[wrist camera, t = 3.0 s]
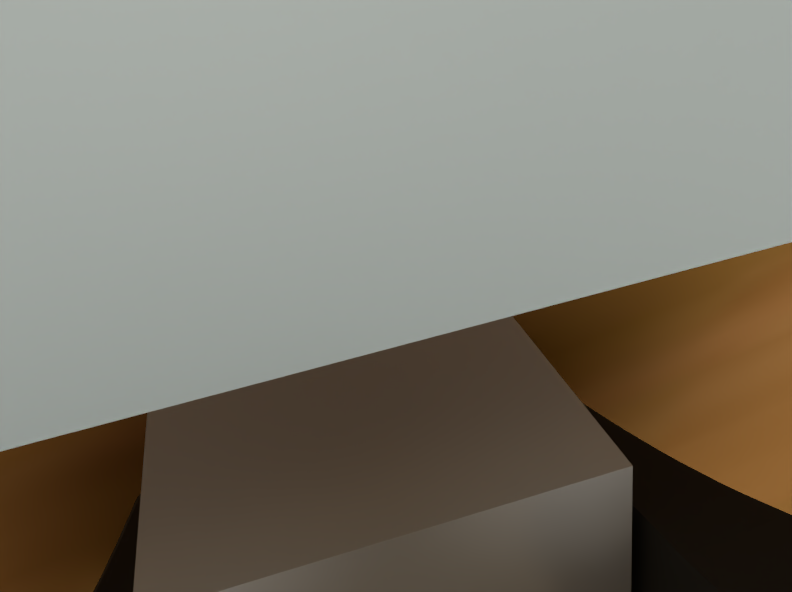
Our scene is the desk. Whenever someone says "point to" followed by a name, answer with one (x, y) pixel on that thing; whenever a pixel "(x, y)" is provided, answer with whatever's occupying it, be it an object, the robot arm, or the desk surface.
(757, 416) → the desk surface
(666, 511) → the robot arm
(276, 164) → the flap
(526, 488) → the grey cube
